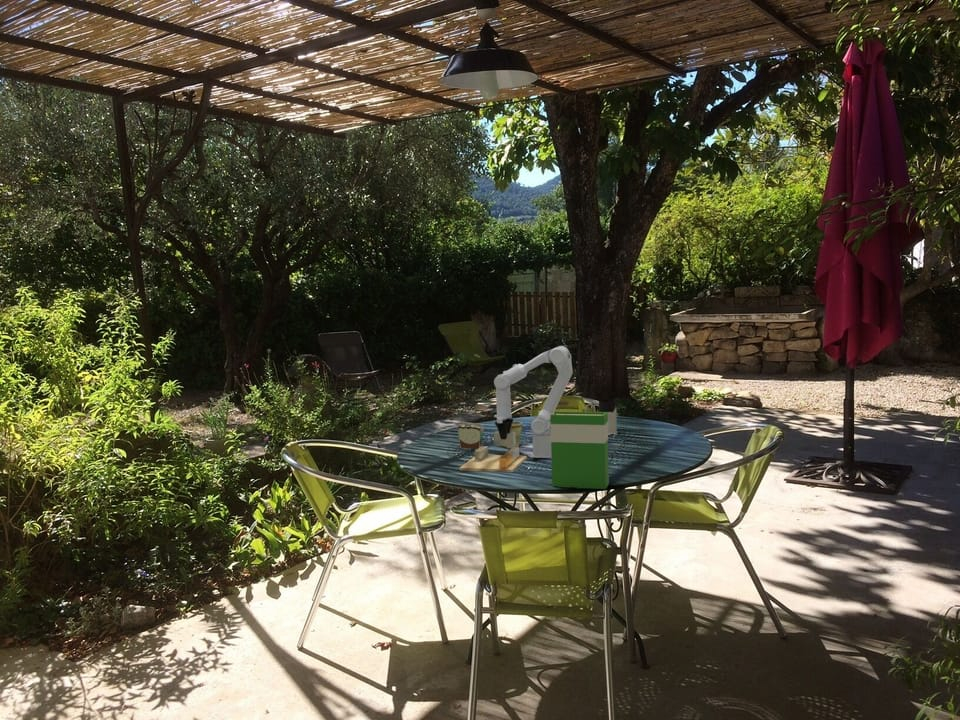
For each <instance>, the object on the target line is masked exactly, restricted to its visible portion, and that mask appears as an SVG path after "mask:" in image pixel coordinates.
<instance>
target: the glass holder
mask: <svg viewBox="0 0 960 720" xmlns="http://www.w3.org/2000/svg"><path fill="white" fill-rule="evenodd" d="M588 406H592V407H593V409H594V412H597V411H596V406H595V405H594V404H592V403H591V404H590V403H589V404H587V405H586V406H585V408H584V412H587V407H588ZM598 412H608V435H610V434H616V433H618V432H617V430H618V429H617V428H618V427H617V421H618V420H617V400H614V399H600V400H598Z"/></svg>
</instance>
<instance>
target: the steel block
mask: <svg viewBox="0 0 960 720" xmlns="http://www.w3.org/2000/svg"><path fill="white" fill-rule="evenodd" d="M515 444H516V432H507V438H506V439H501V438H500V435H499V431H498V430H496V431H494V432H493V446H497V447H499V446H501V447H503V446H514V445H515Z"/></svg>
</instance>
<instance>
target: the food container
mask: <svg viewBox="0 0 960 720" xmlns="http://www.w3.org/2000/svg"><path fill="white" fill-rule="evenodd" d="M456 431H457V434H458V440H459V441H458V442H459V448H465V449H464V450H471V449H475V450H474V451H476V450H477V449H479V448H480V447H482V441H483V440H482V439H483V432H484V431H485V430H484V426H483V424H482V423H474V422H472V423H460V424H457V425H456Z"/></svg>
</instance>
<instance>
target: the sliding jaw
mask: <svg viewBox="0 0 960 720" xmlns="http://www.w3.org/2000/svg"><path fill="white" fill-rule="evenodd" d="M502 455H503V456H501V457H500V458H499V465H500V468H507V467H508V466H509V465H510V464H511V463H512V462H513V461H514V460H516V459H517V458H518V457H519V456H520V447H519V446H518V447H512V448H509V450H508V451H506V452H505V453H504V454H502Z"/></svg>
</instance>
